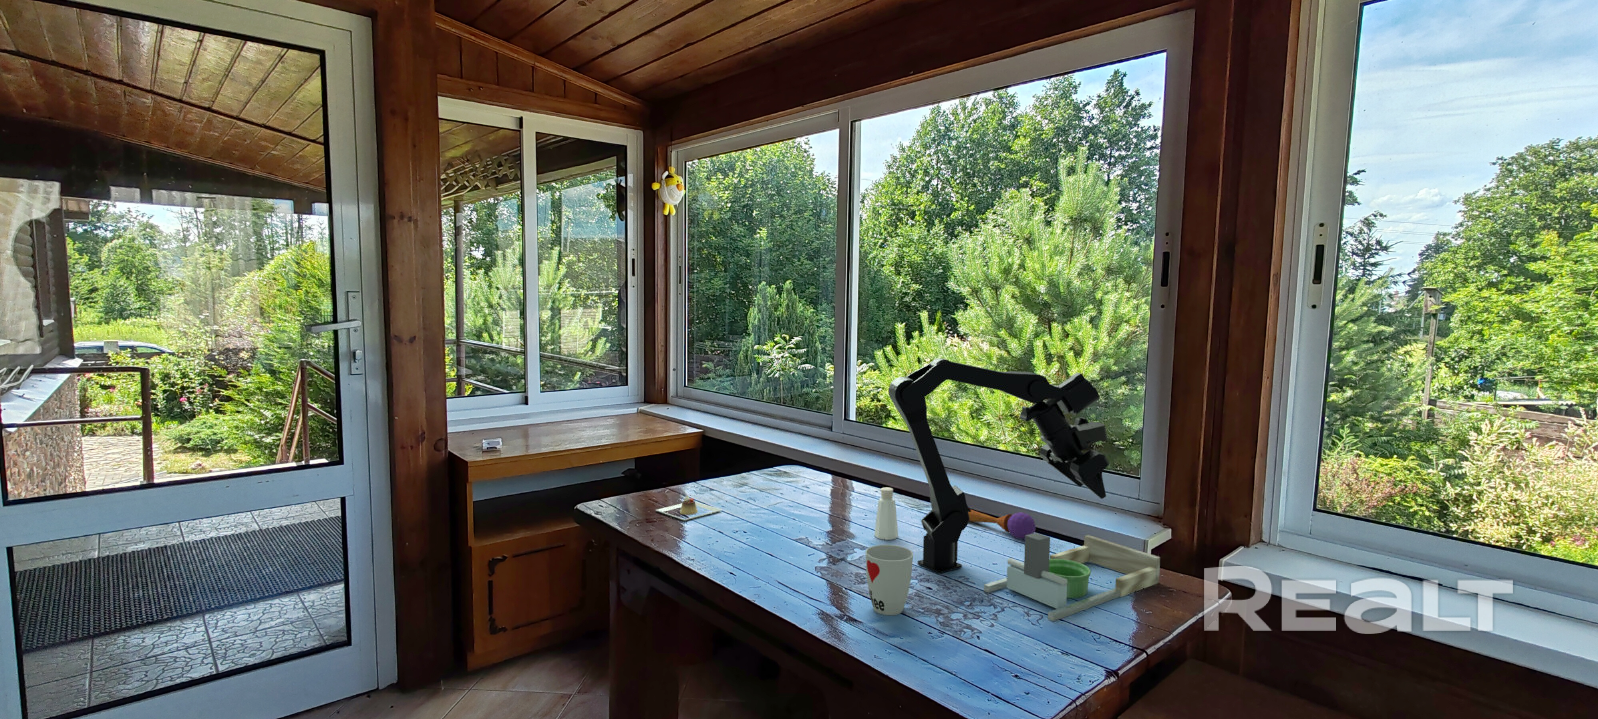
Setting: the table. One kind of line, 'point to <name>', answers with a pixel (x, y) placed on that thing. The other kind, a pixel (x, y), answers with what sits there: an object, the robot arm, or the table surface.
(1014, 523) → the maraca
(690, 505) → the dessert
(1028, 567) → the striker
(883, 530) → the pepper shaker
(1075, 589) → the ramekin
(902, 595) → the cup
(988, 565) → the table surface
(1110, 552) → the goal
